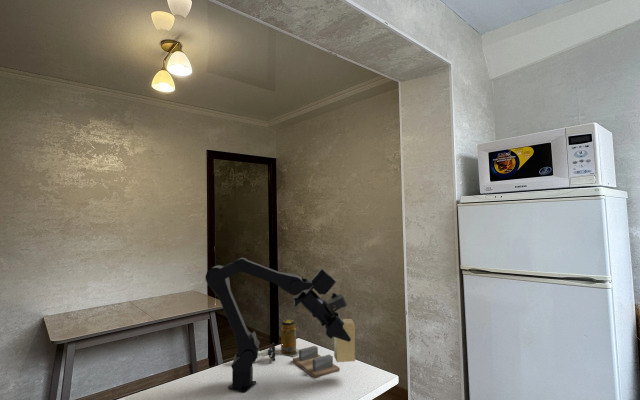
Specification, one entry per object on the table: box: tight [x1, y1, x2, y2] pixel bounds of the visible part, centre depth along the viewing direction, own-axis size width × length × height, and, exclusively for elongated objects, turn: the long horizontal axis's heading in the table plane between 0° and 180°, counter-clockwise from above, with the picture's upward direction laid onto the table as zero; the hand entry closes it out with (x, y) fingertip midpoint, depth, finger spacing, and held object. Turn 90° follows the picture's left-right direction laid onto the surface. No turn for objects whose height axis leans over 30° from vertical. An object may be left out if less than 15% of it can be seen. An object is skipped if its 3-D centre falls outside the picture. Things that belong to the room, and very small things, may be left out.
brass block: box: [333, 318, 356, 363], centre depth 107 cm, size 6×5×12 cm
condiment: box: [276, 319, 300, 358], centre depth 130 cm, size 7×8×12 cm
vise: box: [292, 345, 340, 379], centre depth 117 cm, size 16×10×4 cm, turn 32°
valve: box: [257, 342, 276, 362], centre depth 120 cm, size 7×7×12 cm
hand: (348, 337), depth 107 cm, fingers closed on brass block, 5 cm apart
